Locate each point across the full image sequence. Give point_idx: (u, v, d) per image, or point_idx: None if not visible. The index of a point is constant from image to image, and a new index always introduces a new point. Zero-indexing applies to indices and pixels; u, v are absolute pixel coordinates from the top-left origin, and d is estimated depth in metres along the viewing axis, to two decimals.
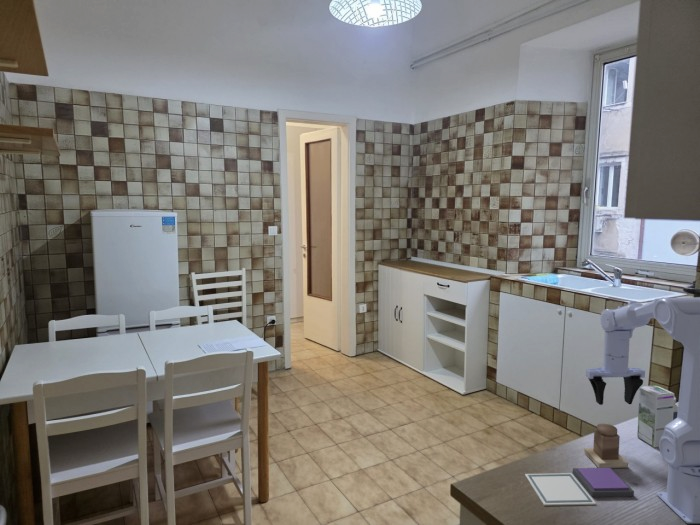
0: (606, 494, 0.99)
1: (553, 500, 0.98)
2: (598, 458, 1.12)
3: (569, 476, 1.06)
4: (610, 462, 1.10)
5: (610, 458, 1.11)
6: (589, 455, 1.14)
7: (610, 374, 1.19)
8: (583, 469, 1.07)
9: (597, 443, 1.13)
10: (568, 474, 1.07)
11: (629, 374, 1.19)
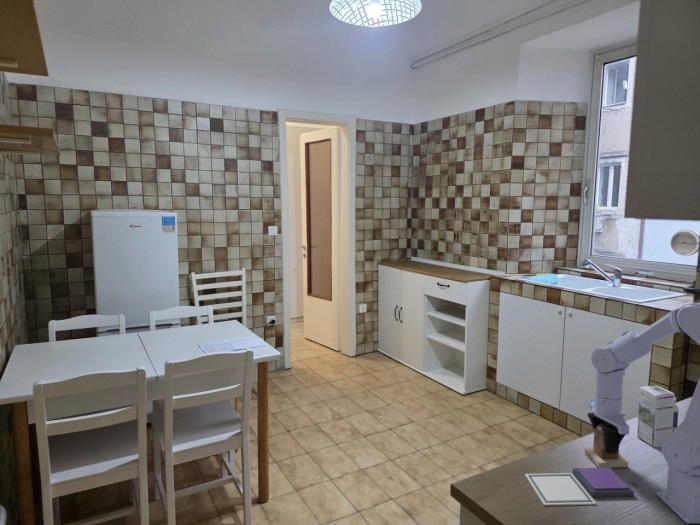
0: (606, 494, 0.99)
1: (553, 500, 0.98)
2: (598, 458, 1.12)
3: (569, 476, 1.06)
4: (610, 462, 1.10)
5: (610, 457, 1.11)
6: (589, 455, 1.14)
7: (592, 408, 1.14)
8: (583, 469, 1.07)
9: (597, 443, 1.13)
10: (568, 474, 1.07)
11: (602, 418, 1.09)
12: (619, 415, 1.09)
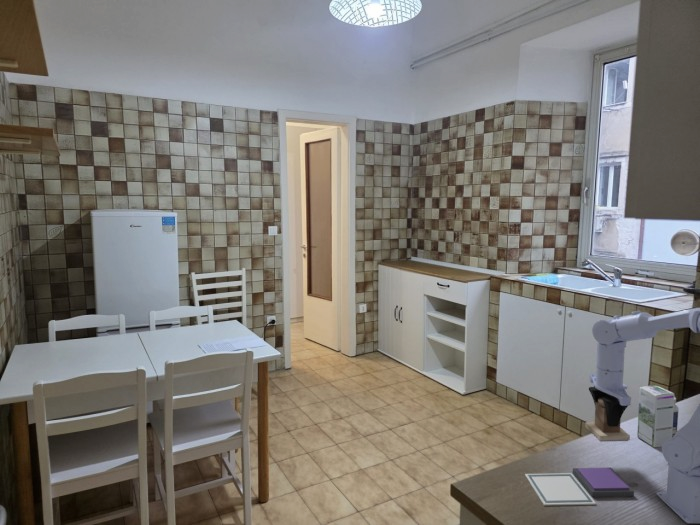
0: (606, 494, 0.99)
1: (553, 500, 0.98)
2: (599, 431, 1.11)
3: (569, 476, 1.06)
4: (611, 435, 1.09)
5: (612, 430, 1.10)
6: (590, 429, 1.13)
7: (593, 382, 1.13)
8: (583, 469, 1.07)
9: (598, 416, 1.12)
10: (568, 474, 1.07)
11: (604, 390, 1.08)
12: (620, 387, 1.08)
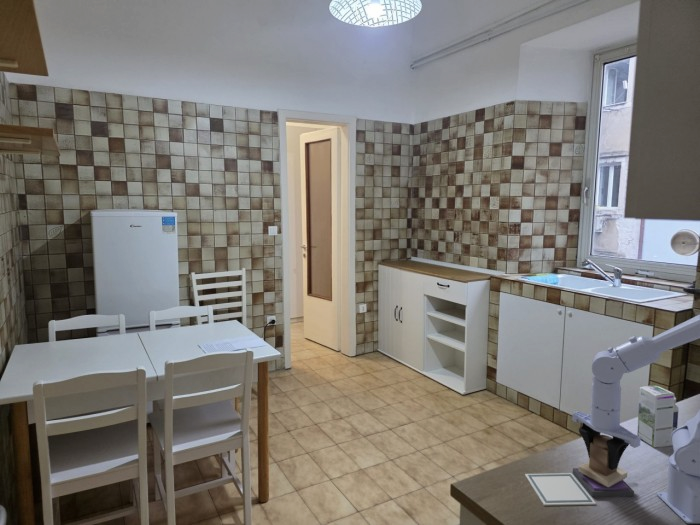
0: (606, 494, 0.99)
1: (553, 500, 0.98)
2: (601, 475, 1.01)
3: (569, 476, 1.06)
4: (615, 477, 1.00)
5: (611, 471, 1.02)
6: (589, 474, 1.03)
7: (587, 423, 1.03)
8: None
9: (596, 458, 1.02)
10: (568, 474, 1.07)
11: (608, 433, 0.99)
12: (619, 425, 1.00)
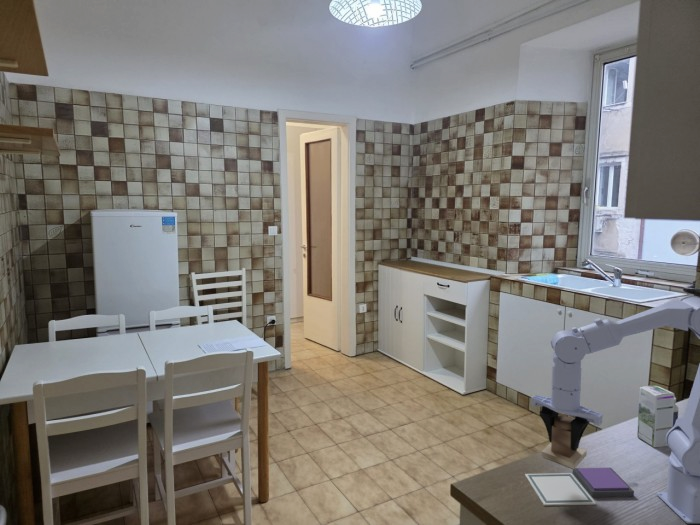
0: (606, 494, 0.99)
1: (553, 500, 0.98)
2: (565, 458, 0.99)
3: (569, 476, 1.06)
4: (577, 457, 0.99)
5: (573, 452, 1.00)
6: (553, 458, 1.00)
7: (549, 406, 1.00)
8: (583, 469, 1.07)
9: (559, 441, 1.00)
10: (568, 474, 1.07)
11: (571, 413, 0.97)
12: (579, 405, 0.99)
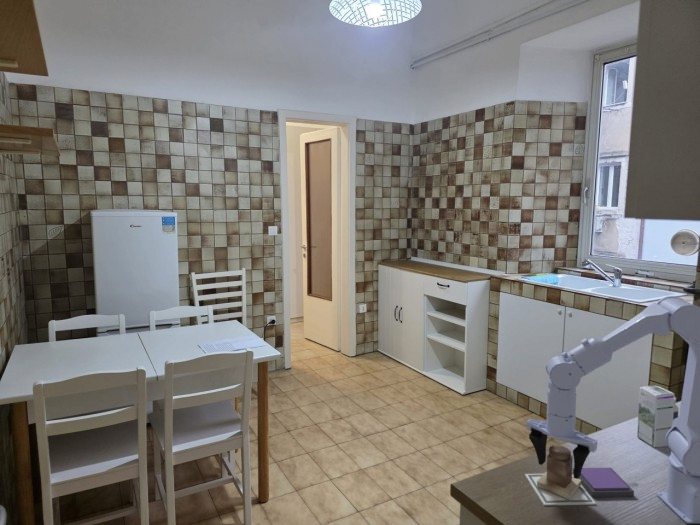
0: (606, 494, 0.99)
1: (553, 500, 0.98)
2: (561, 488, 1.00)
3: None
4: (572, 487, 1.00)
5: (568, 482, 1.01)
6: (548, 488, 1.01)
7: (544, 431, 1.01)
8: (583, 469, 1.07)
9: (554, 471, 1.01)
10: None
11: (567, 439, 0.97)
12: (574, 430, 1.00)
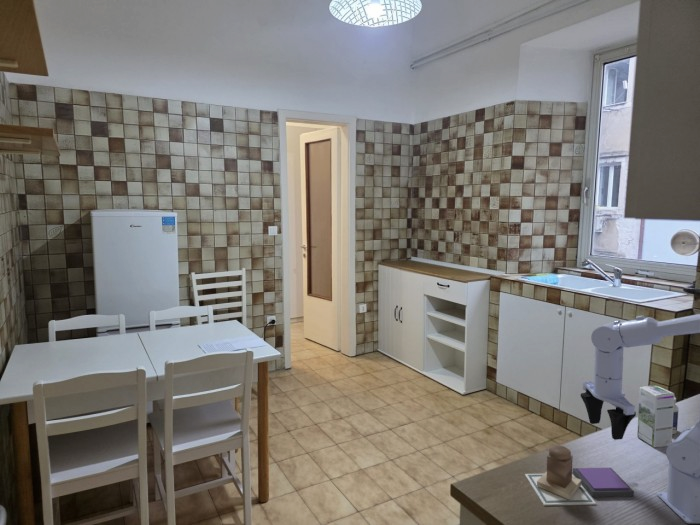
0: (606, 494, 0.99)
1: (553, 500, 0.98)
2: (561, 488, 1.00)
3: None
4: (572, 487, 1.00)
5: (568, 482, 1.01)
6: (548, 488, 1.01)
7: (590, 391, 1.08)
8: (583, 469, 1.07)
9: (554, 471, 1.01)
10: None
11: (604, 399, 1.03)
12: (620, 395, 1.04)
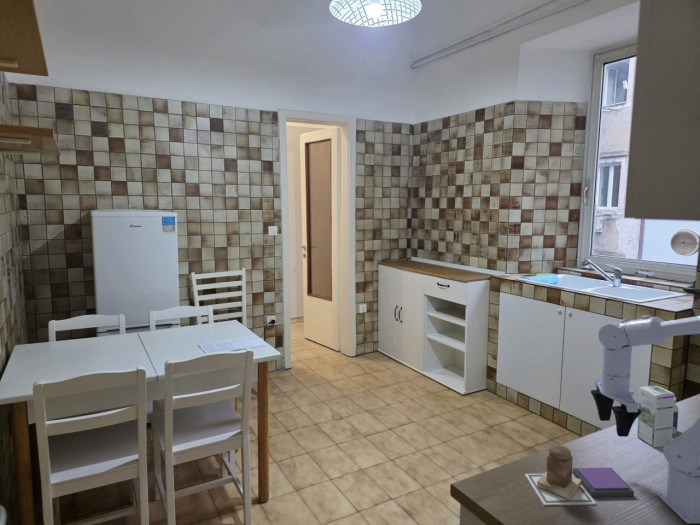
0: (606, 494, 0.99)
1: (553, 500, 0.98)
2: (561, 488, 1.00)
3: None
4: (572, 487, 1.00)
5: (568, 482, 1.01)
6: (548, 488, 1.01)
7: (599, 387, 1.10)
8: (583, 469, 1.07)
9: (554, 471, 1.01)
10: None
11: (610, 396, 1.05)
12: (627, 393, 1.05)
